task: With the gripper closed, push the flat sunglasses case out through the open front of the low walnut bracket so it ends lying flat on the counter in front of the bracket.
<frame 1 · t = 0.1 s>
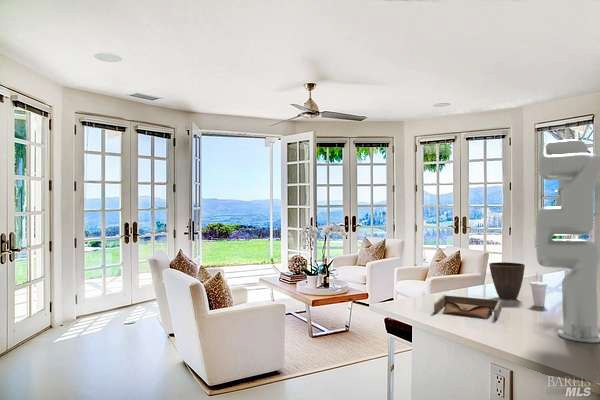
hand: (570, 233, 177), 31 cm above the counter, tool pointing down, fingers open, 9 cm apart
walnut bracket: (467, 312, 171), on the counter
plant pot: (507, 298, 197), on the counter
sunglasses case: (466, 316, 169), on the counter
smoothie: (539, 306, 182), on the counter
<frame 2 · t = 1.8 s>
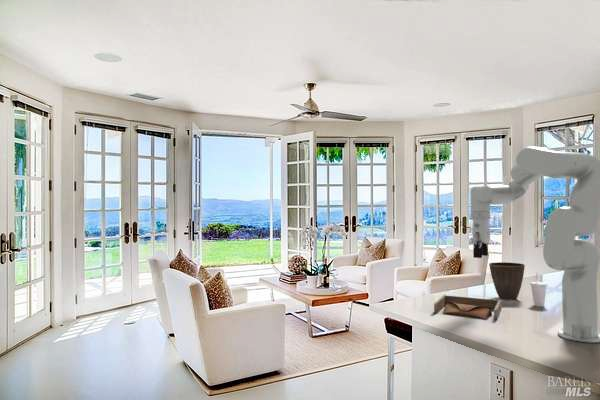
hand: (480, 256, 178), 22 cm above the counter, tool pointing down, fingers open, 9 cm apart
nothing on the counter moved.
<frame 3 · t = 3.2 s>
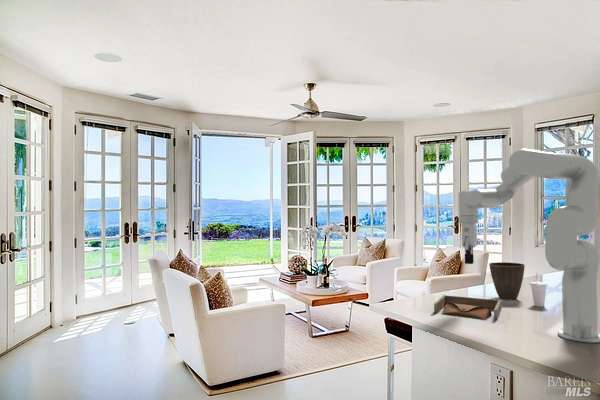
hand: (469, 263, 178), 19 cm above the counter, tool pointing down, fingers closed
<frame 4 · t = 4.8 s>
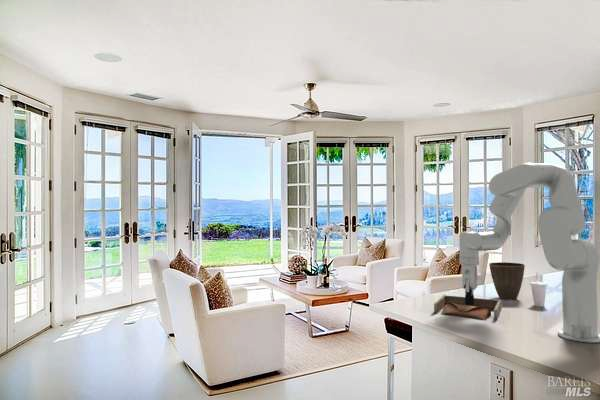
hand: (469, 304, 177), 2 cm above the counter, tool pointing down, fingers closed
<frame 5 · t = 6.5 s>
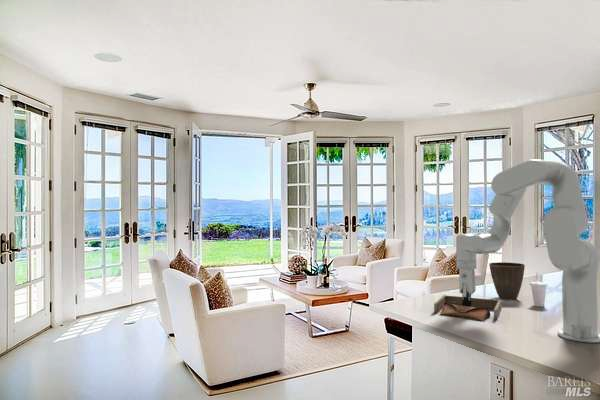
hand: (467, 310, 171), 1 cm above the counter, tool pointing down, fingers closed
sunglasses case: (463, 317, 166), on the counter, touching gripper
everything else where it was.
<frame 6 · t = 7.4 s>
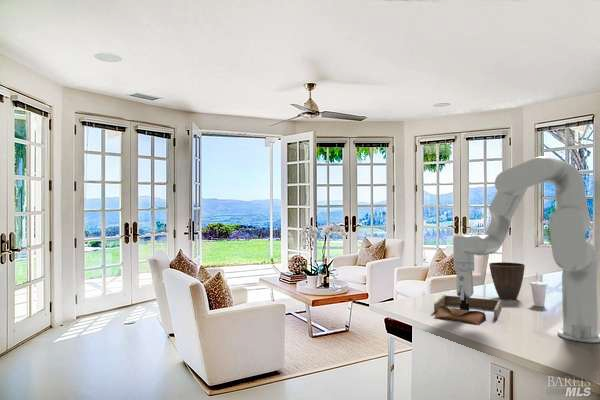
hand: (464, 313, 165), 1 cm above the counter, tool pointing down, fingers closed
sunglasses case: (458, 321, 161), on the counter, touching gripper
everything else where it was.
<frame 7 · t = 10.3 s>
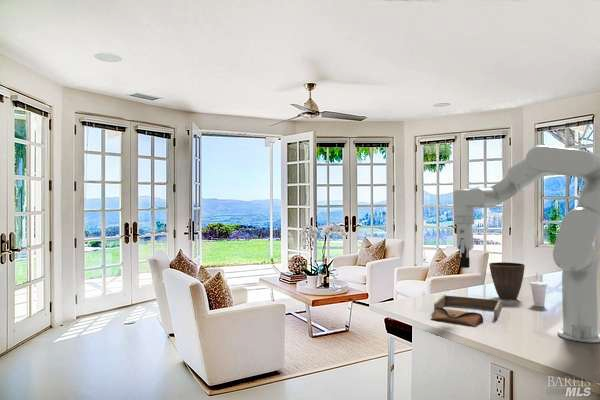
hand: (464, 267, 166), 19 cm above the counter, tool pointing down, fingers closed
sunglasses case: (455, 322, 159), on the counter
everything else where it was.
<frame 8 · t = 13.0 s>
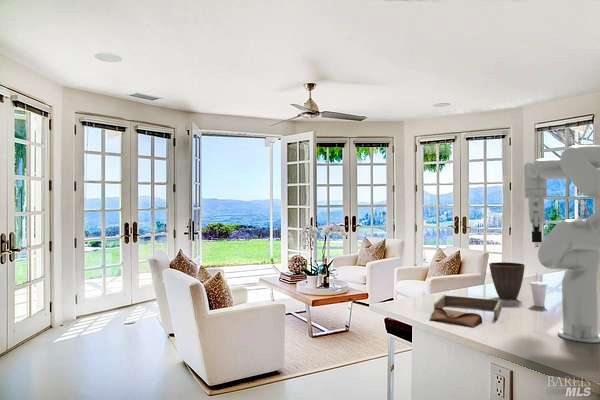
hand: (536, 242, 161), 29 cm above the counter, tool pointing down, fingers closed
at the end: sunglasses case inside the target area on the counter beside the walnut bracket (2.3 cm from its centre), on the counter; sunglasses case touching counter; sunglasses case tilted 0° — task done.
